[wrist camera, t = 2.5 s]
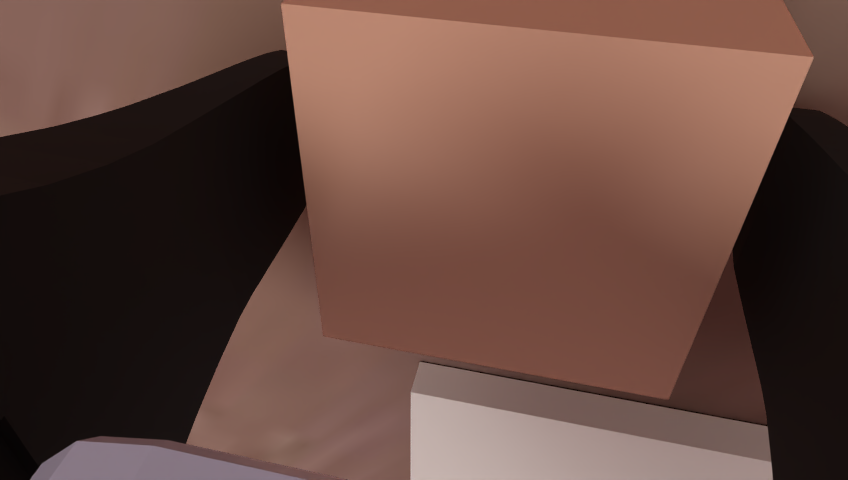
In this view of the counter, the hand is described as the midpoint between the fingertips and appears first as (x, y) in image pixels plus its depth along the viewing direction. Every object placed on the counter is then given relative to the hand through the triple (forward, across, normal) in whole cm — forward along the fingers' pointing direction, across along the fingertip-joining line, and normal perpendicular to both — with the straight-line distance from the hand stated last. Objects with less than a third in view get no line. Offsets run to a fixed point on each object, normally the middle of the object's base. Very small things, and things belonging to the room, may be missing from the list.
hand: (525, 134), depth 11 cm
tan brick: (+1, 0, 0) cm, 1 cm away
